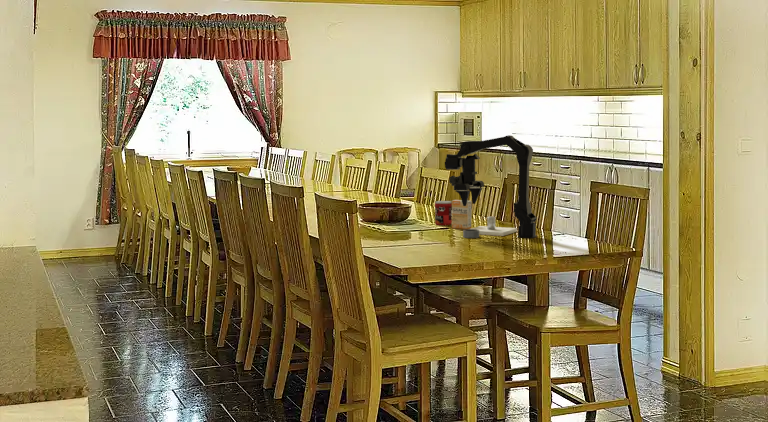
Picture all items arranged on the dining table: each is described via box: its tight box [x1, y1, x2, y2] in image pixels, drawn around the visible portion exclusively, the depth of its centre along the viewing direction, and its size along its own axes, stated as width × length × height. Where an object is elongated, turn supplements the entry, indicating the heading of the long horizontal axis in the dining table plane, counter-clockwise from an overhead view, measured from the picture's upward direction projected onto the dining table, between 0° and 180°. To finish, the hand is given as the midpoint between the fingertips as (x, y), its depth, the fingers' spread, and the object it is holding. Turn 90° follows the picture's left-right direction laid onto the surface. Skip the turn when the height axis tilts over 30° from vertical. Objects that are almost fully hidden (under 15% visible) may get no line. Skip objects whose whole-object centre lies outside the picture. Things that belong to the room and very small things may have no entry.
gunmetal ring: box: [462, 228, 480, 239], centre depth 411 cm, size 7×7×3 cm
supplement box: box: [451, 199, 473, 230], centre depth 439 cm, size 8×5×13 cm, turn 62°
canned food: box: [434, 200, 452, 226], centre depth 454 cm, size 8×8×11 cm
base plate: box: [470, 225, 518, 237], centre depth 425 cm, size 18×16×2 cm
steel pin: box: [486, 216, 496, 230], centre depth 424 cm, size 4×4×6 cm
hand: (469, 205), depth 418 cm, fingers open, 9 cm apart
